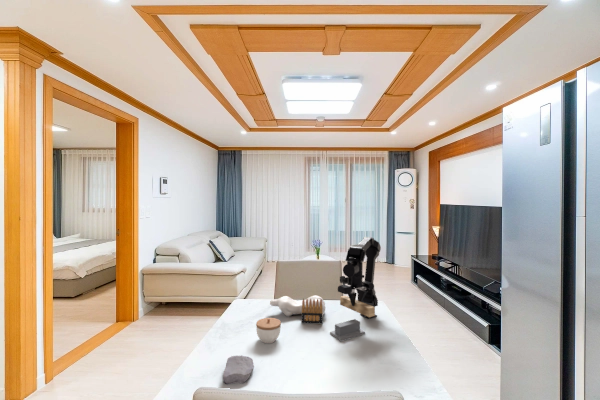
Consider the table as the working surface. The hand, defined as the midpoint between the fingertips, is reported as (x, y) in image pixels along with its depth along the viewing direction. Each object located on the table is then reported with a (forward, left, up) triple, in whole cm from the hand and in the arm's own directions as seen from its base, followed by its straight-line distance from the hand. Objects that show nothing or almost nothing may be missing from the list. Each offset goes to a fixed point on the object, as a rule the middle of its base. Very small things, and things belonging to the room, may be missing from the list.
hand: (356, 305), depth 141 cm
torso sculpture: (+14, -31, -12) cm, 36 cm away
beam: (0, 0, -2) cm, 2 cm away
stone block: (+60, +7, -12) cm, 62 cm away
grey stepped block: (+7, +2, -11) cm, 13 cm away
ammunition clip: (+14, -17, -12) cm, 25 cm away
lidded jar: (+41, -11, -12) cm, 44 cm away
